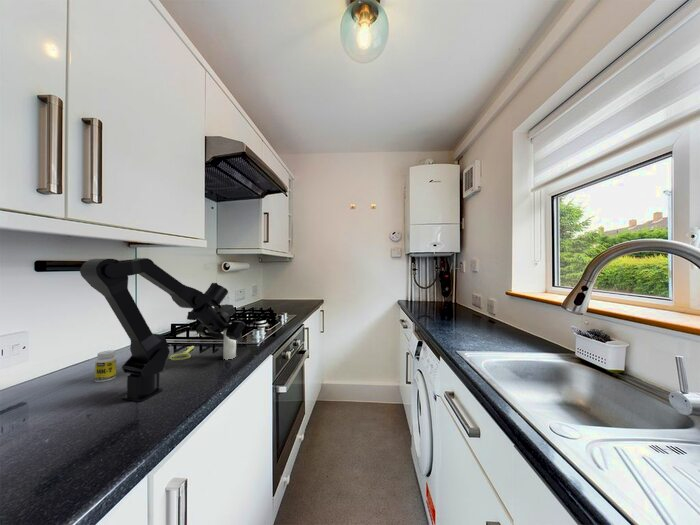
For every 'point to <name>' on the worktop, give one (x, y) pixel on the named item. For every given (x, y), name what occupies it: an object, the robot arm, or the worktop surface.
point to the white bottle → (229, 347)
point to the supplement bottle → (105, 366)
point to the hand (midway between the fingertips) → (232, 339)
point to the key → (182, 354)
